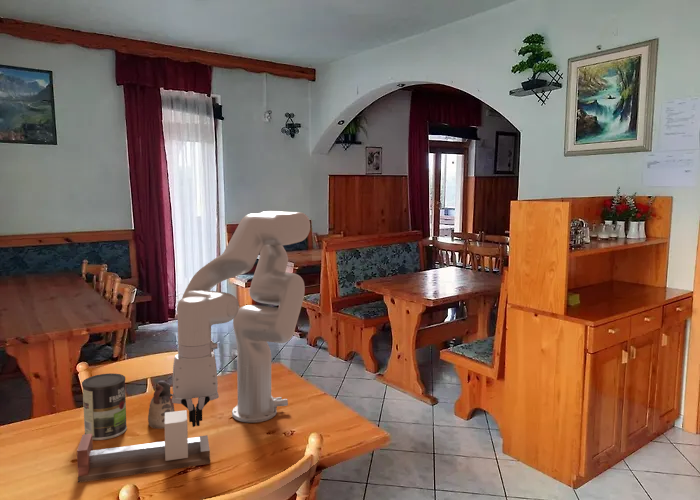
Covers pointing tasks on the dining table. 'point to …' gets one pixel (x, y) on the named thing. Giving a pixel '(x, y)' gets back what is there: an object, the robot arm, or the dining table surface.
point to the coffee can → (104, 406)
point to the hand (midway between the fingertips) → (195, 423)
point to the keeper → (176, 435)
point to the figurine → (160, 405)
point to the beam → (136, 453)
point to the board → (136, 467)
